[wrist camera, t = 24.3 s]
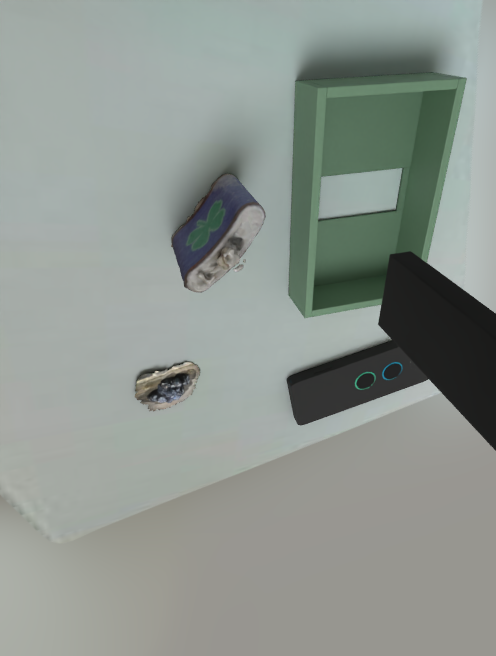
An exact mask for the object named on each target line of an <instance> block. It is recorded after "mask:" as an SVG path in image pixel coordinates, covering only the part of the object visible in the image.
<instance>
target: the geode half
mask: <svg viewBox="0 0 496 656" xmlns="http://www.w3.org/2000/svg"><path fill="white" fill-rule="evenodd" d="M197 366H198V365H194V363H190V362H189V363H188V362H184V364H183V365H182V364H180V365H176V366H173V367H172V368H171V369H170V370H168V371H166V370H165V371H162V372H159V371H155V373H153V374H152V373H151V374H150V373H149V374H144V375H140V378H139V379H138V380H137V384H136V391H138V393H136V395H135V397H136V398H137V400H142V402H140V403H142V404H148V405H149V407H148V409H149V411H152V410H153V411H155V410H156V409H158V410H160V409H166V408H170V407H171V406H172V405H174V404H175V405H176V404H177V403H178V402H179V403H180V402H182V401H184V400H185V399H186V398H188V397H189V396H190V395H192V393H193V389H195V388H196V387H195V386H196V385H194V384H195V383H197V381H196V380H197V379H198V376H199V375H200V370H199V367H197ZM166 369H167V368H166ZM158 372H159V373H158Z"/></svg>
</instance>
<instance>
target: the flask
mask: <svg viewBox="0 0 496 656" xmlns="http://www.w3.org/2000/svg"><path fill="white" fill-rule="evenodd" d="M211 187H212V188H211V190H210V191H209V192H208V193H207V195H206V196H205V197H204V198H202V199H201V201H200V202H198V204H197V205H196V207H195V208H194V209H195V210H194V214H193V215H192V216H191V217H188V219H187V221H186V223H185V224H184V225H182V226H180V228H179V229H178V230H177V231H176V232H175V234H174V235H173V236H172V246H171V247H173V249H174V253H175V255H176V259H177V262H178V265H179V267H180V272H181V276H182V279H183V281H184V287H186V288H188V289H189V290H191V291H193V292H203V291H205V290H207V289H208V288H210V287H211V286H212V285H213V284H214V283H215V282H217V281H218V280H219V279H220V278H222V277H223V276H224V275H225V274H226V273H227V272H228V271H229V270H230V269H231V268H232V267H234V266H235V265H236V264H238V263H239V261H240V258H241V257H242V255H243V254H244V253H245V252H246V250H247V248H248V247H249V246H250V244H251V243H252V241H253V239H254V238H255V236H256V235H257V234H258V232H259V230H260V228H261V226H262V225H263V222H264V220H265V217H266V216H265V211H264V209H263V208H262V206H261V205H260V204H259V203H258V202H257V201H256V200H255V199H254V198H253V196H252V195H251V194H250V193H249V192H248V191H247V190H246V188H245V187H244V186H243V185H242V184H241V182H240V181H239V180H238V179H237V178H236V177H235V176H234V175H231V174H224V175H222V176H221V177H220V178H218V179H217V180H216V181H215V182H214V183H213V184H212V185H211ZM243 262H244V263H245V262H246V260H245V259H244V260H243ZM242 268H243V265H239V266H238V267H237V268H235V269H233V270H234V272H238V271H240V270H241V269H242Z"/></svg>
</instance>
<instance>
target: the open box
mask: <svg viewBox="0 0 496 656" xmlns="http://www.w3.org/2000/svg"><path fill="white" fill-rule="evenodd" d="M466 80H467V78H463V77H457V76H451V75H445V74H439V73H433V72H430V73H414V74H398V75H381V76H365V77H349V78H332V79H316V80H305V81H304V80H299V81H295V111H294V142H293V174H292V205H291V236H290V268H289V296H290V298H291V299H292V301H293V302H294V304H295V305H296V306H297V308H298V309H299V311H300V312H301V313H302V315H303V316H304V318H308V317H314V316H320V315H325V314H331V313H336V312H342V311H348V310H353V309H359V308H365V307H370V306H376V305H381V304H382V299H383V293H384V287H385V281H386V275H387V269H388V263H389V256H390V254H395V253H402V252H409V251H411V252H413V253H414V254H415V255H417V256H418V257H419V258H421V259H422V260H423V261H425V262H426V263H427V259H428V255H429V250H430V245H431V241H432V236H433V232H434V227H435V222H436V218H437V213H438V209H439V204H440V199H441V195H442V190H443V185H444V181H445V176H446V172H447V167H448V162H449V158H450V153H451V149H452V144H453V139H454V135H455V130H456V126H457V121H458V116H459V112H460V107H461V103H462V98H463V93H464V89H465V84H466ZM396 168H403V170H402V176H401V182H400V188H399V194H398V200H397V207H396V210H395V211H387V212H380V213H372V214H364V215H357V216H349V217H341V218H334V219H326V220H318V214H319V199H320V184H321V177H323V176H332V175H341V174H350V173H360V172H369V171H378V170H387V169H396Z"/></svg>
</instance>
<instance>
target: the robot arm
mask: <svg viewBox="0 0 496 656" xmlns="http://www.w3.org/2000/svg"><path fill="white" fill-rule="evenodd" d="M378 325H379V326H380V327H381V328H382V329H383V330H384V331H385V332H386V333H387V335H388V336H389V337H390V338H391V339H392V340H393V341H394V342H395V343H396V344H397V345H398V346H399V347H400V348H401V350H402V351H403V352H404V353H405V354H406V355H407V356H408V357H409V358H410V359H411V360H412V361H413V362H414V363H415V365H416V366H417V367H418V368H419V369H420V370H421V371H422V372H423V373H424V374H425V375H426V376H427V377H428V379H429V380H430V381H431V382H432V383H433V384H434V385H435V386H436V387H437V388H438V389H439V390H440V391H441V392H442V394H443V395H444V396H445V397H446V398H447V399H448V400H449V401H450V402H451V403H452V404H453V405H454V406H455V407H456V409H457V410H459V412H460V413H461V414H462V415H463V416H464V417H465V418H466V419H467V420H468V421H469V423H470V424H471V425H472V426H473V427H474V428H475V429H476V430H477V431H478V432H479V433H480V434H481V435H482V436H483V438H484V439H485V440H486V441H487V442H488V443H489V444H490V445H491V446H492V447H493V448H494V449H495V450H496V313H494V312H493V311H491V310H490V309H489V308H487V307H486V306H485V305H483V304H482V303H481V302H479V301H478V300H476V299H475V298H474V297H472V296H471V295H470V294H468V293H467V292H466V291H464V290H463V289H462V288H460V287H459V286H457V285H456V284H455V283H453V282H452V281H451V280H449V279H448V278H447V277H445V276H444V275H442V274H441V273H440V272H438V271H437V270H436V269H434V268H433V267H432V266H430V265H429V264H428V263H426V262H425V261H423V260H422V259H421V258H419V257H418V256H417V255H415V254H414V253H413V252H411V251H409V252H402V253H395V254H390V256H389V263H388V269H387V275H386V281H385V287H384V293H383V299H382V305H381V311H380V317H379V323H378Z"/></svg>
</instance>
